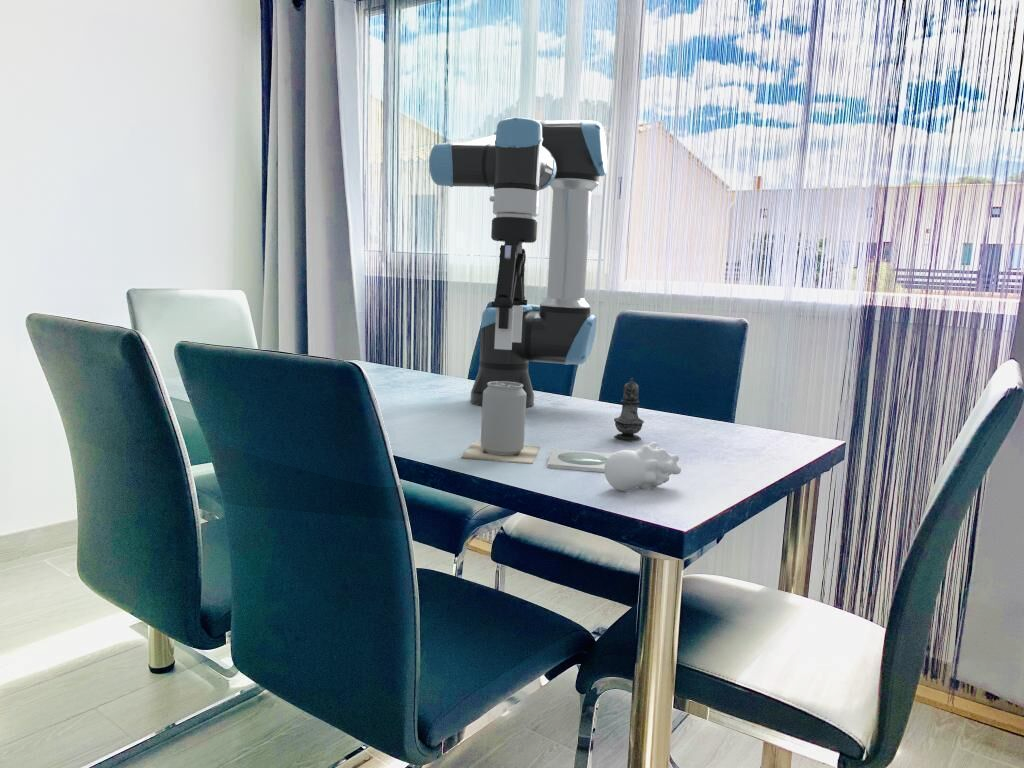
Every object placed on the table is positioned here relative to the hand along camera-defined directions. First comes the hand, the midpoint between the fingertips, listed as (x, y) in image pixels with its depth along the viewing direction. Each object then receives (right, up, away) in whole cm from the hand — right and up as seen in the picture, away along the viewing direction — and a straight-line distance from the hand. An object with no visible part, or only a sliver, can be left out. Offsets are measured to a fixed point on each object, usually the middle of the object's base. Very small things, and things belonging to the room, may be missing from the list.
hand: (508, 345), depth 127 cm
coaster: (+12, -20, -1) cm, 23 cm away
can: (-1, -18, +3) cm, 19 cm away
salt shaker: (+23, -17, +20) cm, 35 cm away
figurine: (+20, -22, -15) cm, 33 cm away
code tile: (-1, -18, +3) cm, 19 cm away
